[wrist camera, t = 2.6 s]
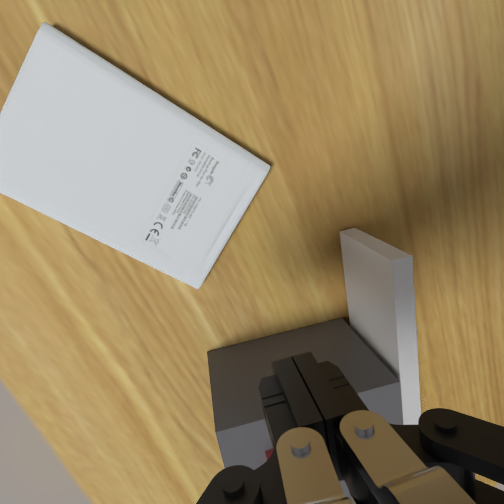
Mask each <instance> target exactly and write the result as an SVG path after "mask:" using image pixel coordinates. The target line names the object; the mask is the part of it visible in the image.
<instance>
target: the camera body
mask: <svg viewBox="0 0 504 504" xmlns="http://www.w3.org/2000/svg"><path fill="white" fill-rule="evenodd" d="M308 351H311V353H312V354H313V356H314V357H315V359H316V361H317V362H318V363H321V362H324V361H329V362H331V363H332V364H334V365H336V366H338V367H339V369H340V370H341V371H342V373H343V374H344V376H345V378H346V379H347V380H348V381H349V383H350V385H351V386H352V387H353V388H354V390H355V391H356V393H357V394H358V395H359V397H360V398H361V400H362V401H363V403H364V404H365V405H366V407H367V408H368V410H369V411H372V412H375V413H377V414H379V415H380V416H382V417H383V418H384V419H385V420H386V421H387V422H388V423H390V424H396V425H403V421H402V407H401V393H400V381H399V380H398V379H397V378H396V377H395V376H394V375H393V374H392V373H391V372H390V370H389V369H388V368H387V367H386V366H385V365H384V364H383V363H382V362H381V360H380V359H379V358H378V357H377V356H376V355H375V354H374V353H373V352H372V351H371V349H370V348H369V347H368V346H367V345H366V344H365V343H364V342H363V341H362V340H361V338H360V337H359V336H358V335H357V334H356V333H355V332H354V331H353V330H352V329H351V327H350V326H349V325H348V324H347V323H346V322H345V321H344V320H343V319H342V318H340V319H336V320H332V321H328V322H324V323H320V324H316V325H312V326H308V327H304V328H300V329H296V330H292V331H288V332H284V333H280V334H276V335H272V336H268V337H264V338H260V339H256V340H252V341H248V342H244V343H240V344H236V345H232V346H228V347H224V348H220V349H216V350H212V351H209V352H207V355H208V365H209V374H210V384H211V393H212V403H213V412H214V422H215V432H216V436H217V440H218V444H219V448H220V451H221V455H222V459H223V463H224V467H225V468H227V467H230V466H234V465H244V466H247V467H250V468H251V469H253V470H255V469H257V468H258V467H260V466H261V465H263V464H264V463H265V462H266V461H267V460H268V459H269V458H270V456H271V455H272V453H273V450H274V449H273V446H272V443H271V439H270V436H269V432H268V429H267V425H266V422H265V417H264V412H263V408H262V403H261V398H260V393H259V385H260V381H261V378H264V377H268V376H272V375H273V370H272V364H271V361H274V360H277V359H281V358H285V357H289V356H290V357H291V356H292V355H296V354H300V353H304V352H308ZM339 483H340V485H341V488H342V491H343V494H344V496H345V497H348V498H349V499H350V497H349V490H348V487H347V485H346V483H345V481H344V480H342V481H339Z"/></svg>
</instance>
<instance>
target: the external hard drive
mask: <svg viewBox="0 0 504 504" xmlns="http://www.w3.org/2000/svg"><path fill="white" fill-rule="evenodd" d="M270 167H271V166H270V165H268V164H267V163H265V162H264V161H262V160H261V159H259V158H258V157H256V156H254V155H253V154H251V153H250V152H248V151H247V150H245V149H244V148H242V147H240V146H239V145H237V144H236V143H234V142H233V141H231V140H229V139H228V138H226V137H225V136H223V135H222V134H220V133H219V132H217V131H216V130H214V129H212V128H211V127H209V126H208V125H206V124H205V123H203V122H201V121H200V120H198V119H197V118H195V117H194V116H192V115H191V114H189V113H188V112H186V111H184V110H183V109H181V108H180V107H178V106H177V105H175V104H173V103H172V102H170V101H169V100H167V99H165V98H164V97H162V96H161V95H159V94H158V93H156V92H155V91H153V90H152V89H150V88H148V87H147V86H145V85H144V84H142V83H141V82H139V81H137V80H136V79H134V78H133V77H131V76H130V75H128V74H127V73H125V72H123V71H122V70H120V69H119V68H117V67H116V66H114V65H112V64H111V63H109V62H108V61H106V60H105V59H103V58H101V57H100V56H98V55H97V54H95V53H93V52H92V51H90V50H89V49H87V48H85V47H84V46H82V45H81V44H79V43H78V42H76V41H75V40H73V39H71V38H70V37H68V36H67V35H65V34H64V33H62V32H60V31H59V30H57V29H56V28H54V27H52V26H51V25H49V24H48V23H46V22H44V23H42V25H41V27H40V28H39V30H38V32H37V34H36V36H35V38H34V40H33V43H32V45H31V47H30V49H29V51H28V53H27V56H26V58H25V60H24V62H23V64H22V66H21V69H20V71H19V73H18V75H17V78H16V80H15V82H14V84H13V86H12V89H11V91H10V93H9V95H8V97H7V100H6V101H5V104H4V106H3V108H2V111H1V113H0V193H2V194H4V195H6V196H8V197H10V198H12V199H14V200H16V201H18V202H20V203H22V204H24V205H27V206H29V207H31V208H33V209H35V210H37V211H39V212H41V213H43V214H45V215H47V216H49V217H51V218H53V219H55V220H57V221H59V222H61V223H63V224H65V225H67V226H69V227H71V228H73V229H76V230H78V231H80V232H82V233H84V234H86V235H88V236H90V237H92V238H94V239H96V240H98V241H100V242H102V243H104V244H106V245H108V246H110V247H112V248H114V249H116V250H118V251H120V252H122V253H124V254H126V255H128V256H131V257H133V258H135V259H137V260H139V261H141V262H143V263H145V264H147V265H149V266H151V267H153V268H155V269H157V270H159V271H161V272H163V273H165V274H167V275H169V276H172V277H173V278H175V279H178V280H180V281H182V282H184V283H186V284H188V285H190V286H192V287H194V288H196V289H199V288H200V286H201V285H202V283H203V282H204V280H205V278H206V277H207V275H208V273H209V271H210V270H211V268H212V266H213V265H214V263H215V261H216V259H217V258H218V256H219V254H220V253H221V251H222V249H223V248H224V246H225V244H226V243H227V241H228V239H229V237H230V236H231V234H232V233H233V231H234V229H235V228H236V226H237V224H238V223H239V221H240V219H241V217H242V216H243V214H244V212H245V211H246V209H247V207H248V206H249V204H250V202H251V201H252V199H253V197H254V196H255V194H256V192H257V191H258V189H259V187H260V186H261V184H262V182H263V181H264V179H265V177H266V176H267V174H268V172H269V170H270Z"/></svg>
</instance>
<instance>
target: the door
mask: <svg viewBox="0 0 504 504" xmlns="http://www.w3.org/2000/svg"><path fill="white" fill-rule="evenodd" d="M339 233H340V242H341V251H342V260H343V268H344V277H345V286H346V295H347V304H348V313H349V322H350V327H351V329H352V330H353V331H354V332H355V333H356V334H357V335H358V336H359V337H360V338H361V340H362V341H363V342H364V343H365V344H366V345H367V346H368V347H369V348H370V349H371V351H372V352H373V353H374V354H375V355H376V356H377V357H378V358H379V359H380V360H381V362H382V363H383V364H384V365H385V366H386V367H387V368H388V369H389V370H390V372H391V373H392V374H393V375H394V376H395V377H396V378H397V379H398V380H399V381H400V393H401V407H402V421H403V425H418V420H419V417H420V416H421V407H420V388H419V369H418V350H417V331H416V312H415V293H414V274H413V256H412V255H410V254H408V253H406V252H404V251H402V250H400V249H398V248H396V247H393V246H391V245H389V244H387V243H385V242H383V241H381V240H379V239H377V238H375V237H373V236H371V235H369V234H367V233H365V232H363V231H361V230H358V229H356V228H352V229H348V230H343V231H339Z"/></svg>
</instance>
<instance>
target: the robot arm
mask: <svg viewBox="0 0 504 504" xmlns="http://www.w3.org/2000/svg"><path fill="white" fill-rule="evenodd" d="M271 364H272V370H273V375H272V376H268V377H264V378H261V381H260V385H259V393H260V398H261V403H262V408H263V412H264V417H265V422H266V425H267V429H268V432H269V436H270V439H271V443H272V446H273V449H274V450H273V453H272V455H271V456H270V458H269V459H268V460H267V461H266V462H265V463H264V464H263V465H261V466H260V467H258V468H257V469H255V470H253V469H251V468H250V467H247V466H244V465H234V466H230V467H227V468H225V469H223V470H221V471H220V472H219V473H218V474H217V475H216V476H215V477H214V478H213V479H212V481H211V482H210V484H209V485H208V487H207V488H206V490H205V491H204V493H203V494H202V496H201V497H200V499H199V500H198V502H197V503H196V504H504V491H502V490H499V489H497V488H495V487H492V486H490V485H488V484H485V483H483V482H481V481H478V480H476V479H475V473H476V474H479V475H481V476H484V477H486V478H489V479H491V480H493V481H496V482H498V483H501V484H503V485H504V427H503V426H499V425H496V424H493V423H490V422H487V421H484V420H481V419H478V418H475V417H471V416H468V415H465V414H462V413H459V412H456V411H453V410H449V409H443V408H436V409H430V410H427V411H425V412H424V413H423V414H421V416H420V417H419V420H418V425H396V424H390V423H388V422H387V421H386V420H385V419H384V418H383V417H382V416H380V415H379V414H377V413H375V412H372V411H369V410H368V408H367V407H366V405H365V404H364V403H363V401H362V400H361V398H360V397H359V395H358V394H357V393H356V391H355V390H354V388H353V387H352V386H351V385H350V383H349V381H348V380H347V379H346V378H345V376H344V374H343V373H342V371H341V370H340V369H339V367H338V366H336V365H334V364H332V363H331V362H329V361H324V362H321V363H318V362H317V361H316V359H315V357H314V356H313V354H312V353H311V351H308V352H304V353H300V354H296V355H292V356H291V357H290V356H289V357H285V358H281V359H277V360H274V361H271ZM342 480H344V481H345V483H346V485H347V487H348V490H349V497H350V499H349V498H348V497H345V496H344V494H343V491H342V488H341V485H340V483H339V481H342Z"/></svg>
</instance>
